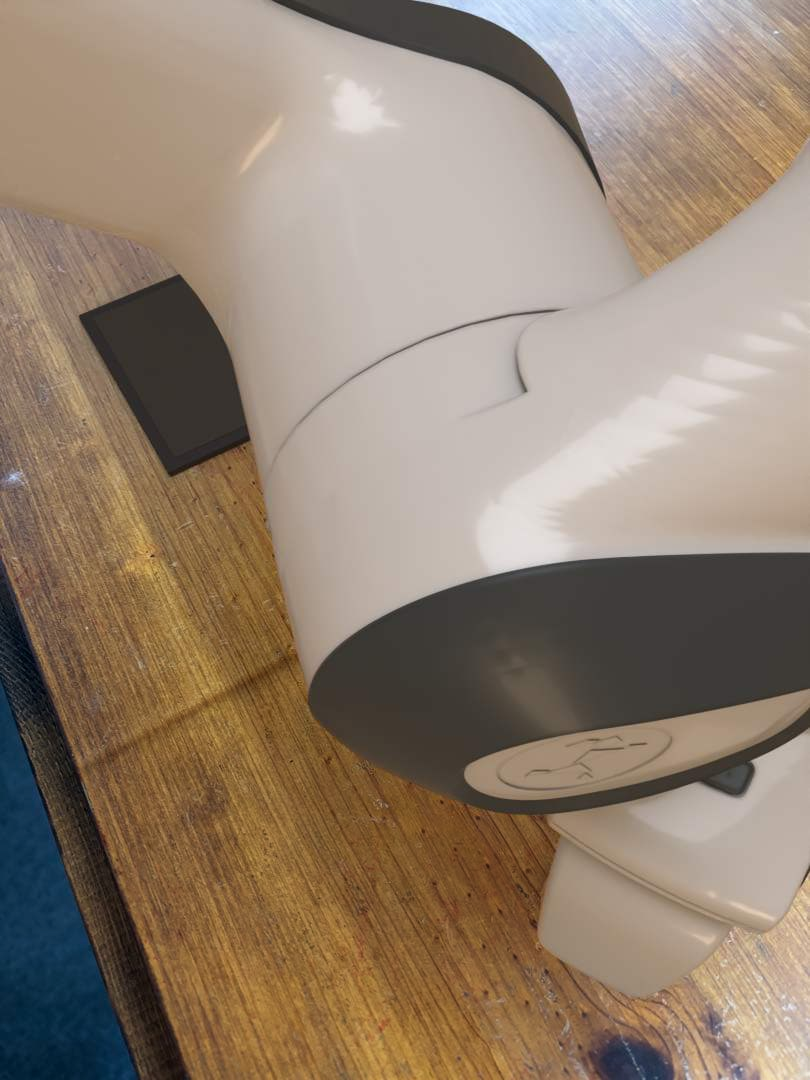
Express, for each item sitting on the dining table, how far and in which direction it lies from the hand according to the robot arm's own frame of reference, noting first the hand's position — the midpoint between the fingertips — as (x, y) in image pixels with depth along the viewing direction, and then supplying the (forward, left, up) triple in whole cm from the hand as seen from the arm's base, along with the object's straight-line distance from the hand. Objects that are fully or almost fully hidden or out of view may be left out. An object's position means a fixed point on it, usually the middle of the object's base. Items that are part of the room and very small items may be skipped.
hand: (664, 758), depth 43 cm
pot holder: (-1, +43, -19) cm, 47 cm away
